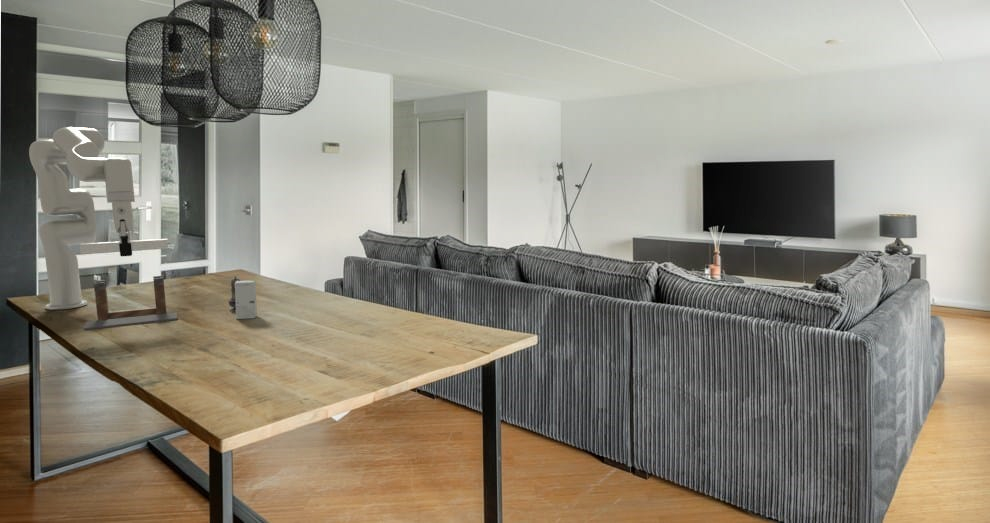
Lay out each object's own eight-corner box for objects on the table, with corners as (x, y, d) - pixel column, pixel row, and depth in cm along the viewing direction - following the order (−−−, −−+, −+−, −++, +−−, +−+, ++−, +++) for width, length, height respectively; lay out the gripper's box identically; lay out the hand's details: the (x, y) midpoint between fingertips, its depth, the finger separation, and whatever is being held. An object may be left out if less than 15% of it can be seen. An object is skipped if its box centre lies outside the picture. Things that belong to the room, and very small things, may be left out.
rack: (97, 321, 204) (93, 283, 202) (98, 317, 209) (95, 280, 207) (166, 313, 213) (163, 277, 212) (166, 310, 218) (163, 275, 217)
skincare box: (235, 319, 204) (233, 282, 202) (238, 316, 208) (235, 280, 206) (255, 318, 205) (253, 281, 203) (257, 315, 209) (255, 279, 208)
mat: (83, 330, 192) (83, 328, 192) (86, 323, 201) (86, 321, 201) (177, 319, 204) (177, 317, 204) (176, 314, 213) (176, 312, 213)
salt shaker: (242, 311, 215) (240, 277, 214) (225, 311, 215) (223, 277, 214) (249, 308, 221) (247, 274, 219) (232, 308, 221) (230, 274, 220)
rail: (80, 254, 192) (79, 244, 192) (81, 253, 195) (80, 243, 194) (168, 248, 204) (167, 239, 203) (168, 247, 206) (167, 238, 206)
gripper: (133, 197, 192) (139, 257, 194) (134, 196, 206) (140, 252, 208) (105, 198, 188) (111, 259, 190) (108, 197, 202) (113, 253, 205)
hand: (126, 254), depth 199 cm, fingers closed on rail, 3 cm apart
